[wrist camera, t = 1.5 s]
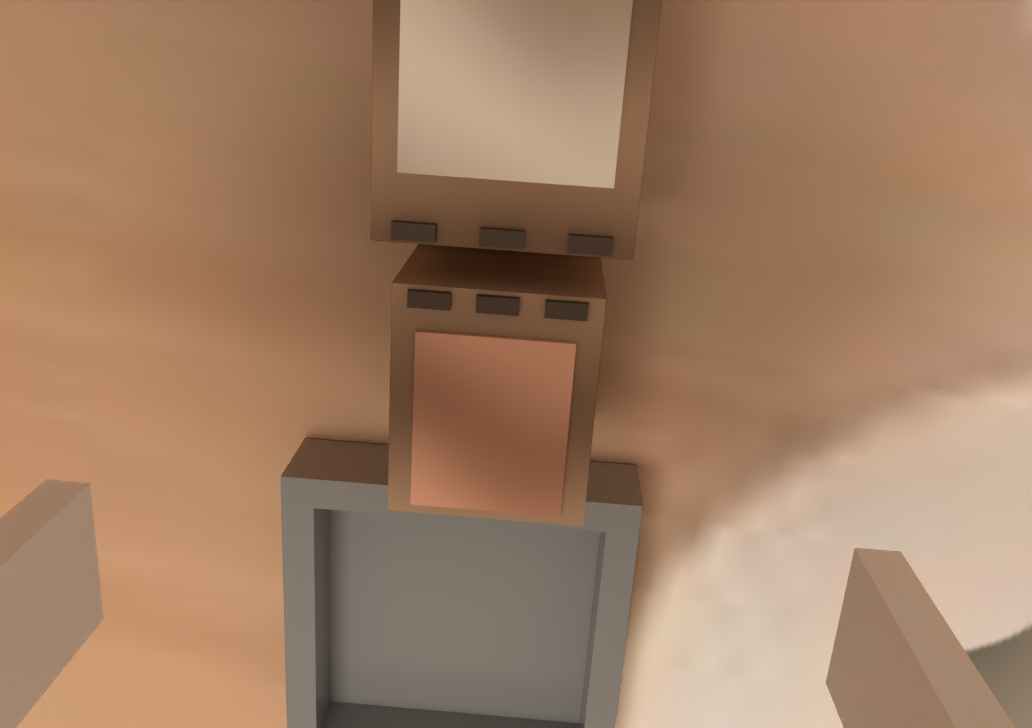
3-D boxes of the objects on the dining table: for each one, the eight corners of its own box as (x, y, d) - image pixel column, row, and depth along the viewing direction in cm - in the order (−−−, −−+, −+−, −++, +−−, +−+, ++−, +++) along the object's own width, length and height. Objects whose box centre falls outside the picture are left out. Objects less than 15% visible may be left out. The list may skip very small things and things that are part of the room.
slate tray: (305, 438, 31) (280, 476, 28) (635, 464, 30) (642, 506, 28) (309, 706, 35) (288, 761, 32) (603, 732, 34) (606, 790, 32)
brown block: (432, 223, 28) (390, 285, 21) (597, 235, 28) (606, 302, 21) (426, 405, 30) (386, 514, 23) (579, 417, 30) (583, 530, 23)
